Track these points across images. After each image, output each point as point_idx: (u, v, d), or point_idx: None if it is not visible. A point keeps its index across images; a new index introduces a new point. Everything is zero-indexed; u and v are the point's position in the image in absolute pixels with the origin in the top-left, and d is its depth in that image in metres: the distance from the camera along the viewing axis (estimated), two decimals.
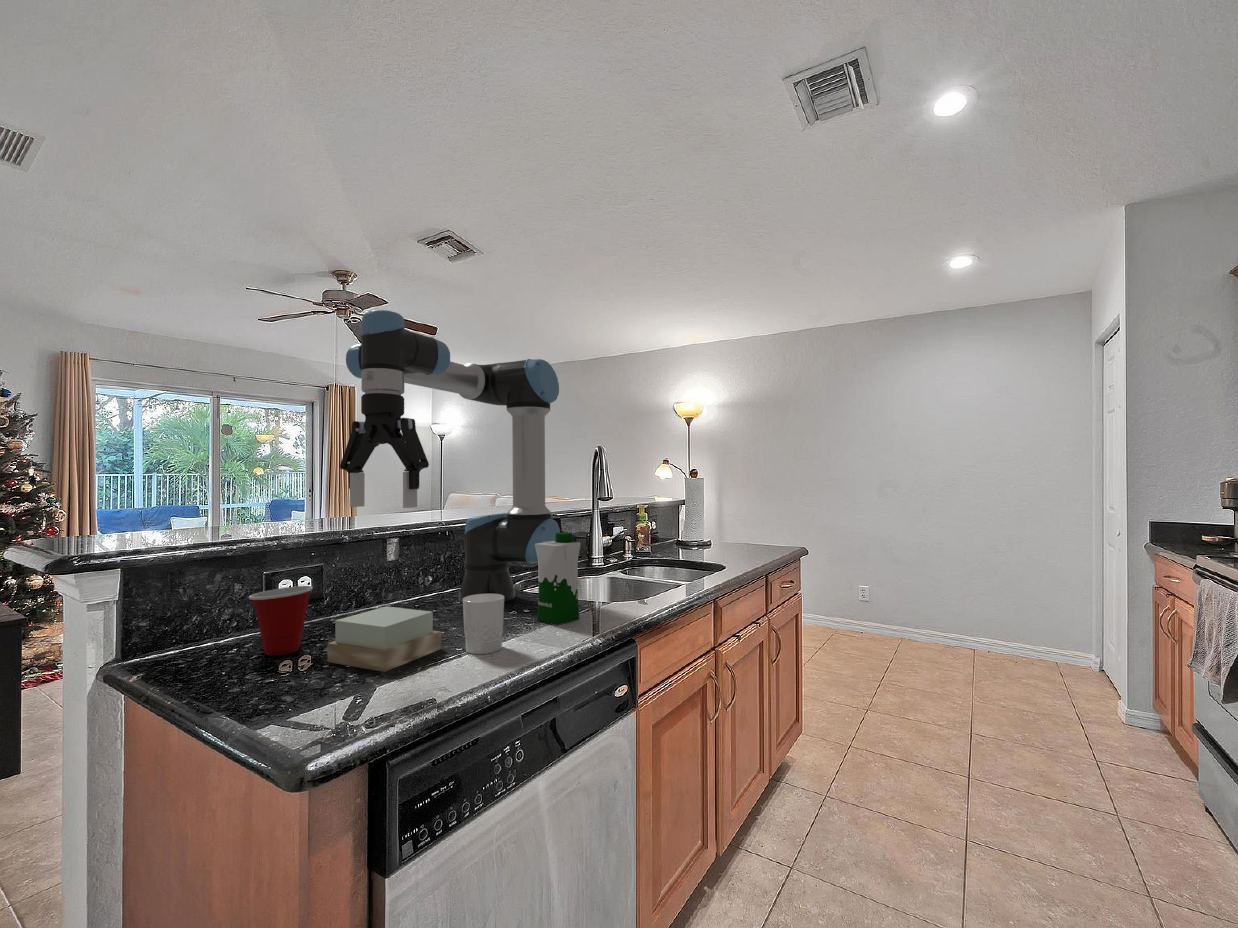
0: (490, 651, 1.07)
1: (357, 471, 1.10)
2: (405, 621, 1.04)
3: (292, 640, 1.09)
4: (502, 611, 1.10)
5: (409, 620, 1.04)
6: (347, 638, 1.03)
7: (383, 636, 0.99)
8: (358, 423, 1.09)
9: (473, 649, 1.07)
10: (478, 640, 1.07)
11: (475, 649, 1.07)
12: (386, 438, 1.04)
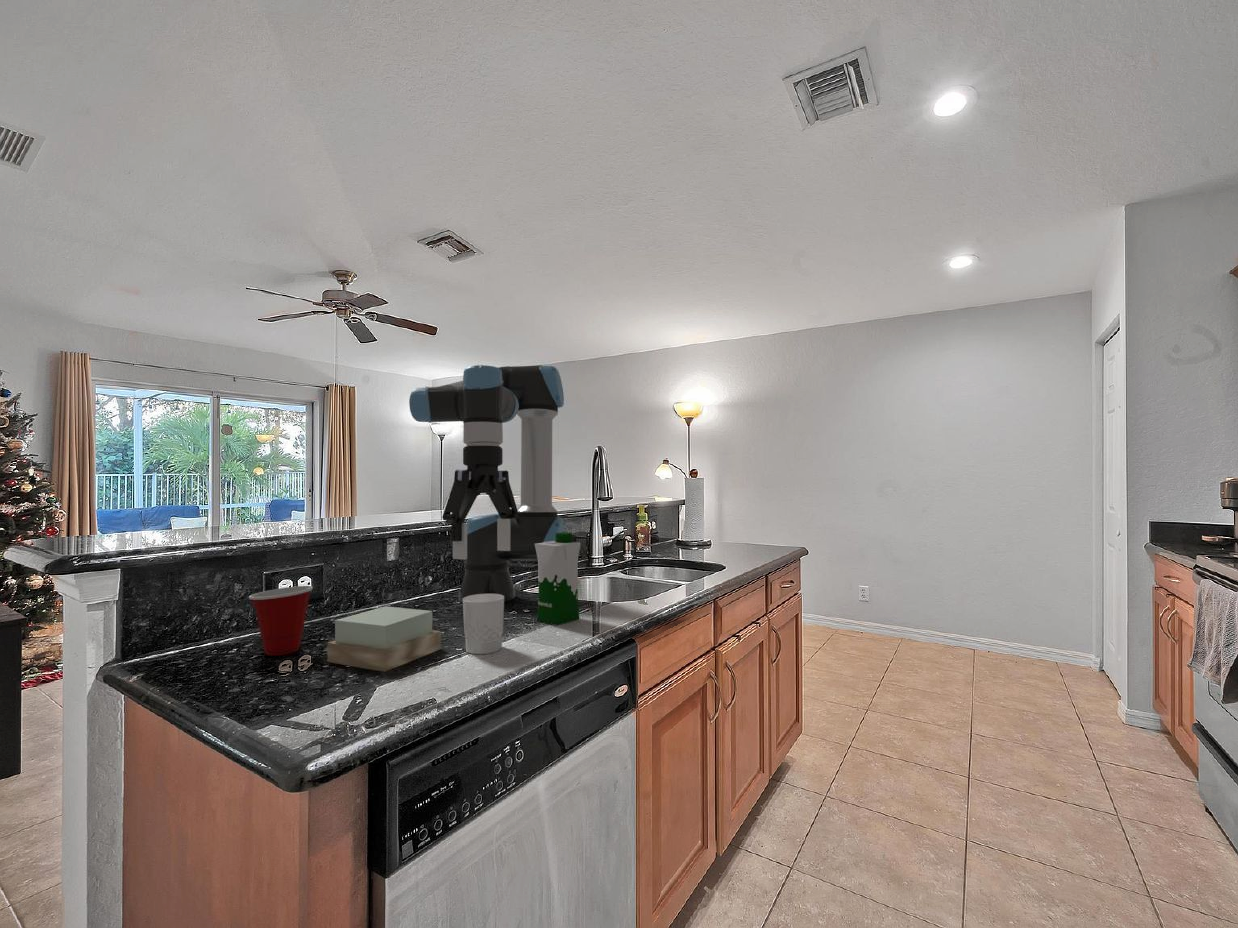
0: (490, 651, 1.07)
1: (505, 517, 1.17)
2: (405, 620, 1.04)
3: (292, 640, 1.09)
4: (502, 611, 1.10)
5: (409, 619, 1.05)
6: (347, 638, 1.03)
7: (383, 635, 0.99)
8: None
9: (473, 649, 1.07)
10: (478, 640, 1.07)
11: (475, 649, 1.07)
12: None
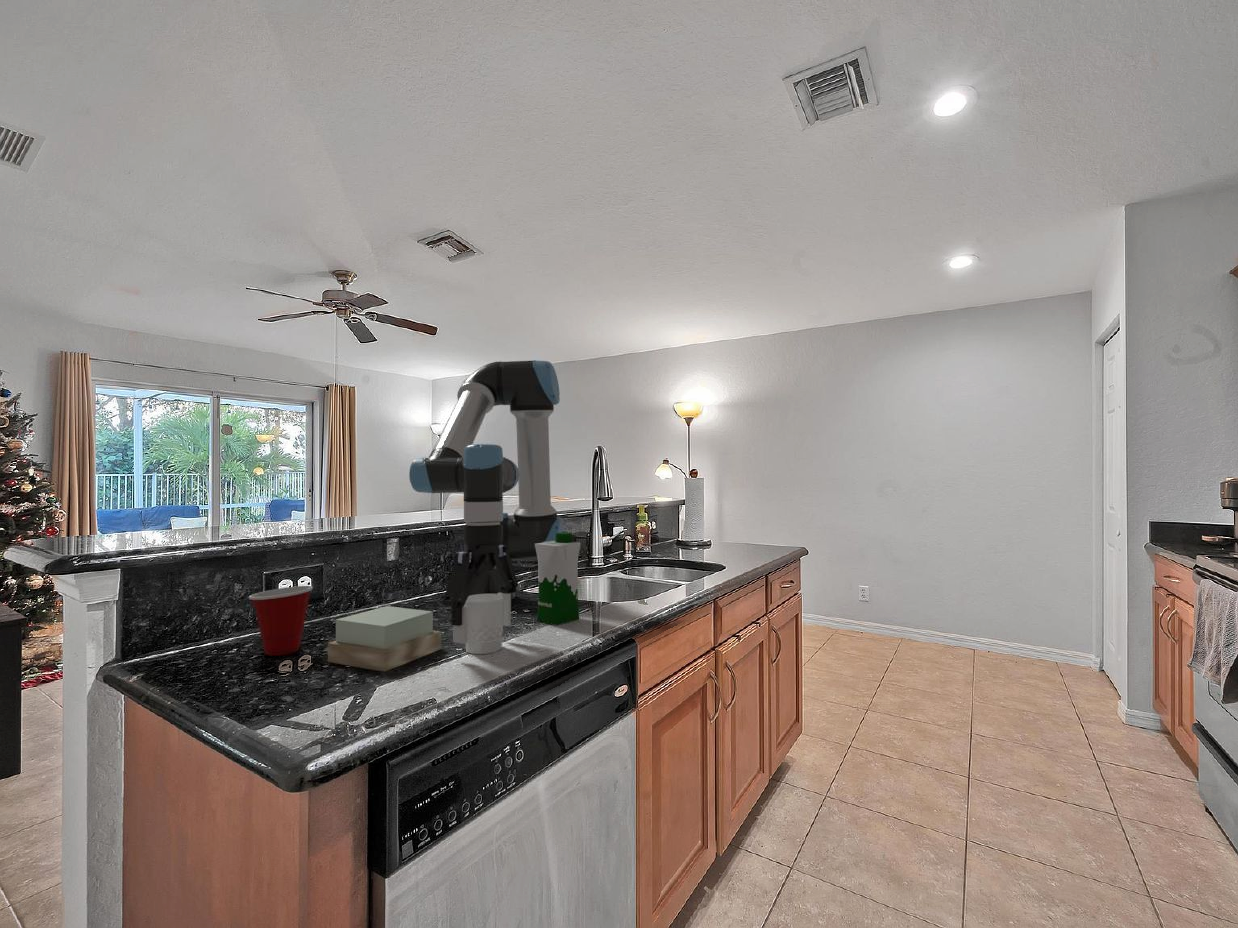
0: (490, 651, 1.07)
1: (506, 591, 1.16)
2: (405, 620, 1.04)
3: (292, 640, 1.09)
4: (502, 611, 1.10)
5: (409, 620, 1.05)
6: (347, 638, 1.03)
7: (382, 635, 1.00)
8: None
9: (473, 649, 1.07)
10: (478, 640, 1.07)
11: (475, 649, 1.07)
12: None
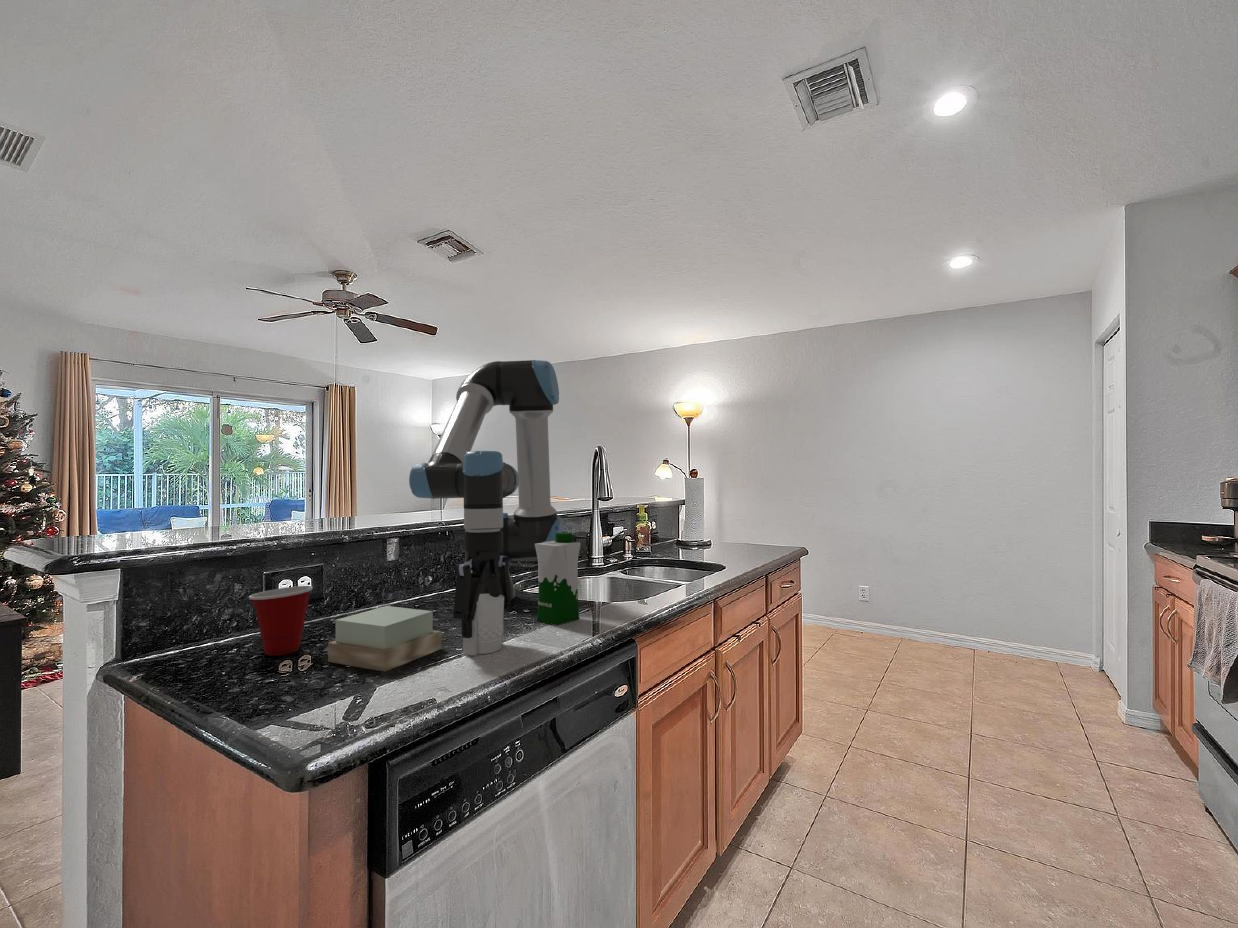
0: (490, 651, 1.07)
1: None
2: (405, 620, 1.04)
3: (292, 640, 1.09)
4: (502, 611, 1.10)
5: (409, 620, 1.05)
6: (347, 638, 1.03)
7: (382, 635, 0.99)
8: None
9: None
10: (478, 640, 1.07)
11: None
12: None
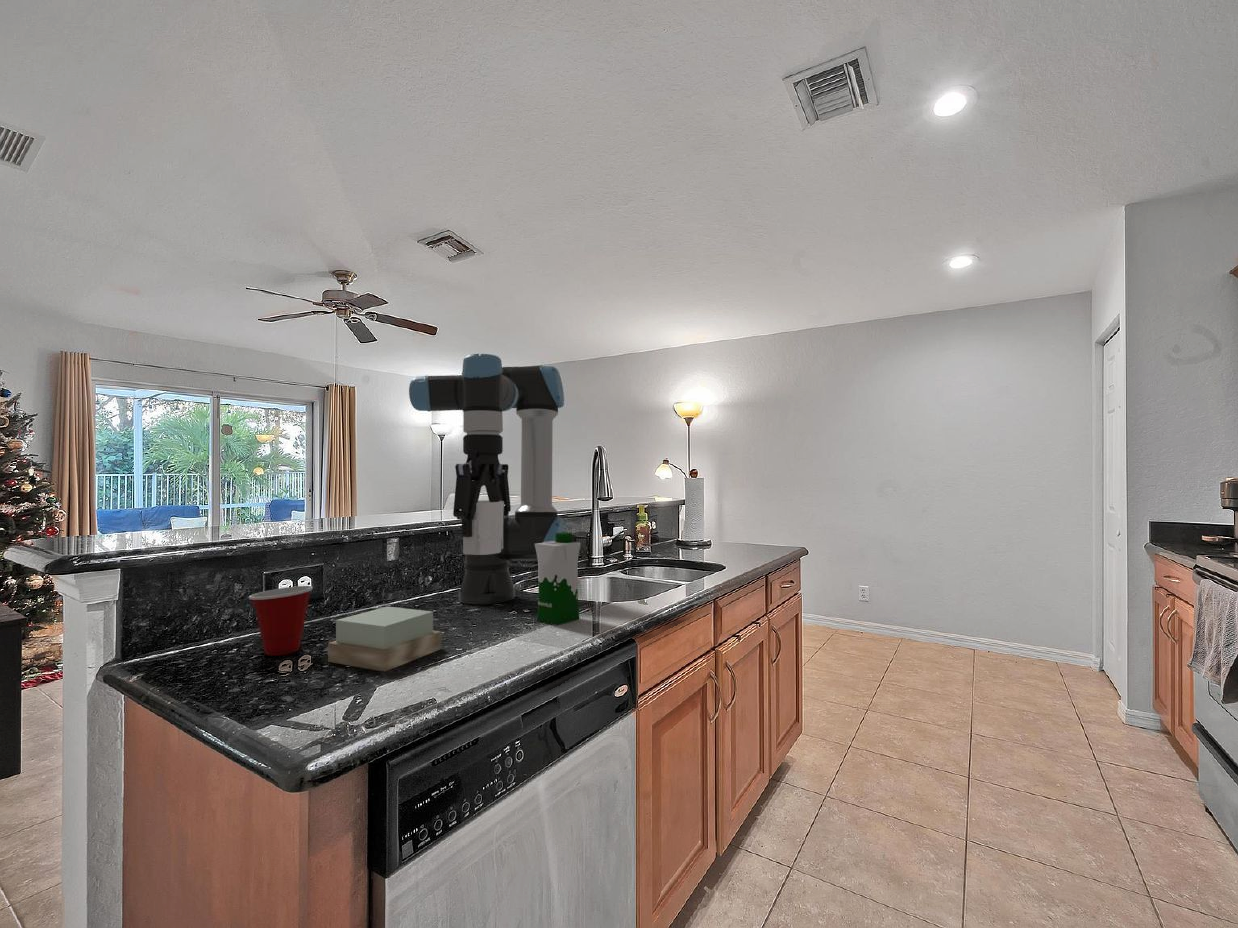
0: (490, 552, 1.08)
1: None
2: (405, 621, 1.04)
3: (292, 640, 1.09)
4: (502, 514, 1.10)
5: (409, 620, 1.05)
6: (347, 638, 1.03)
7: (382, 635, 0.99)
8: None
9: None
10: (478, 541, 1.07)
11: None
12: None
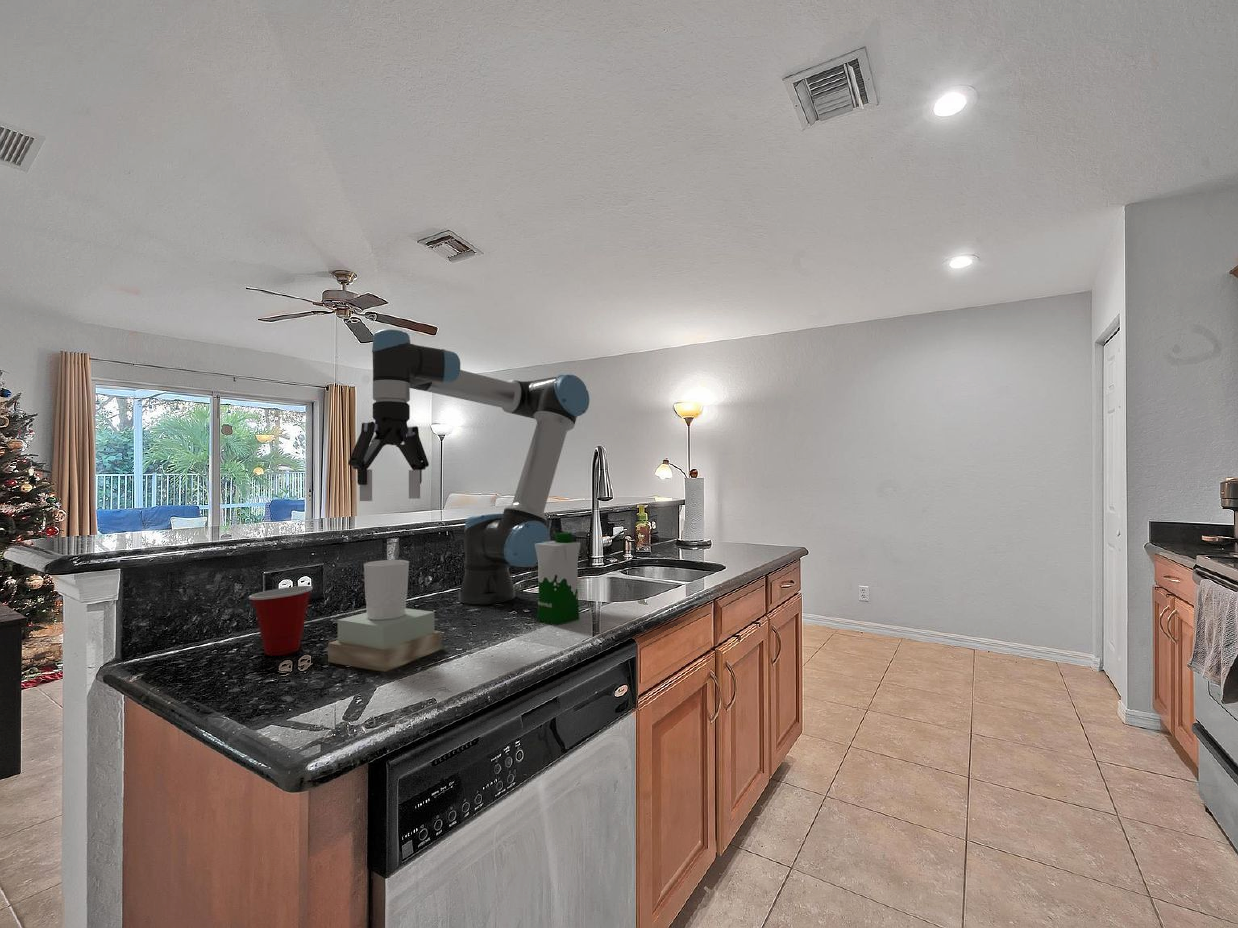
0: (392, 616, 1.04)
1: (416, 468, 1.30)
2: (405, 621, 1.03)
3: (292, 640, 1.09)
4: (406, 576, 1.07)
5: (409, 620, 1.04)
6: (348, 638, 1.03)
7: (381, 636, 0.99)
8: None
9: (374, 615, 1.04)
10: (379, 605, 1.03)
11: (376, 615, 1.04)
12: None
